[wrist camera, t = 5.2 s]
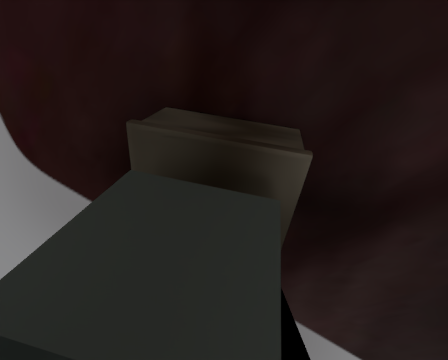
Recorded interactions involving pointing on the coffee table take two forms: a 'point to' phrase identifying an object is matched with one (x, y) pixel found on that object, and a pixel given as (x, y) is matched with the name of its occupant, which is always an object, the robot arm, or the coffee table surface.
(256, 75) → the coffee table surface
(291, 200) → the oak box
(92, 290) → the sage block
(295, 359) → the robot arm
